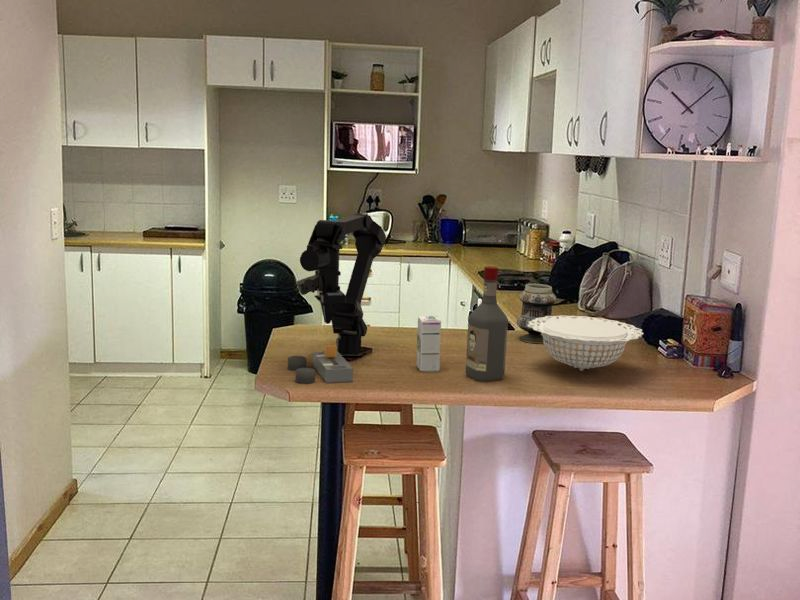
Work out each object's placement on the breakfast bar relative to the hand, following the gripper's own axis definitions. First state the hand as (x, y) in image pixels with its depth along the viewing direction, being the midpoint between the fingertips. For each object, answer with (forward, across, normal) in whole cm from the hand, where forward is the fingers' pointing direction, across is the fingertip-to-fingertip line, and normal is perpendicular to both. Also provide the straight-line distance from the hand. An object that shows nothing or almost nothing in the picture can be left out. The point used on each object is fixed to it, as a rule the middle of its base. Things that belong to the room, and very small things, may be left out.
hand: (327, 322), depth 227 cm
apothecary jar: (+12, -19, +73) cm, 76 cm away
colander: (+12, +17, +70) cm, 73 cm away
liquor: (+12, +18, +40) cm, 46 cm away
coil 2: (+12, +14, -8) cm, 20 cm away
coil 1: (+12, +2, -8) cm, 15 cm away
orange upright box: (+8, +5, 0) cm, 10 cm away
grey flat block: (+12, +8, 0) cm, 14 cm away
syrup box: (+12, +8, +27) cm, 31 cm away
